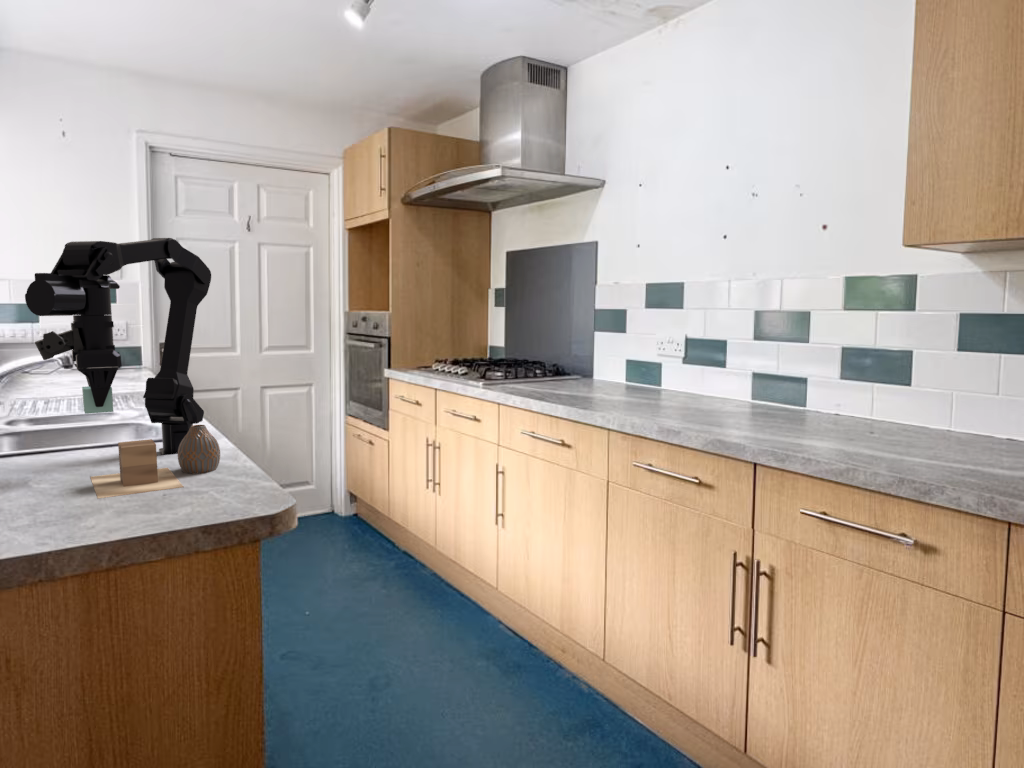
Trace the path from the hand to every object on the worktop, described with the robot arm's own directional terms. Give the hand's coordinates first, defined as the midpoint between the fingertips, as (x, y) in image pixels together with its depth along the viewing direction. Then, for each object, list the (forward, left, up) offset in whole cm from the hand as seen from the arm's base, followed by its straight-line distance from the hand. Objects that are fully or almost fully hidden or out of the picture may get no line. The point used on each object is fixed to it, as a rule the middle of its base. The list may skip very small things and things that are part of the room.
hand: (98, 405), depth 123 cm
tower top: (+12, +4, -8) cm, 15 cm away
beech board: (+12, +4, -12) cm, 18 cm away
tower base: (+12, +4, -12) cm, 17 cm away
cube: (0, 0, -1) cm, 1 cm away
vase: (+8, +14, -13) cm, 21 cm away
